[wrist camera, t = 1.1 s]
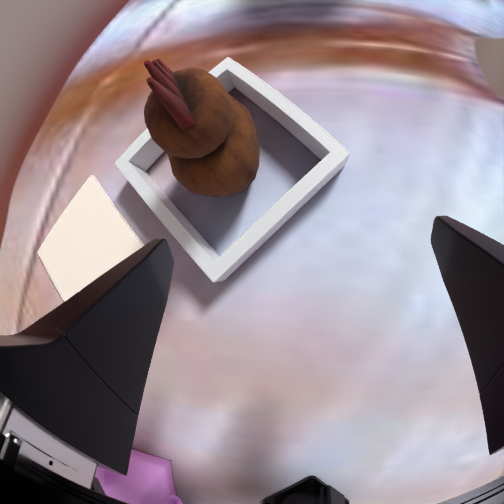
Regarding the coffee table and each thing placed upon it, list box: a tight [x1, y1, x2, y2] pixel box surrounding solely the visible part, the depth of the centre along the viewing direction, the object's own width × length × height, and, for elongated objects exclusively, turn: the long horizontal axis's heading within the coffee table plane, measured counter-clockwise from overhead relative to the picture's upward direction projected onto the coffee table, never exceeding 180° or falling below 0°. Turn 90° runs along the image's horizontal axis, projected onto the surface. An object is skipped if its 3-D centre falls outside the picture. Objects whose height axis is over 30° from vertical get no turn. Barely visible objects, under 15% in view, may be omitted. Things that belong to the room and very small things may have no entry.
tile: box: [38, 175, 145, 302], centre depth 25 cm, size 11×11×1 cm
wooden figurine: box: [144, 59, 259, 197], centre depth 16 cm, size 7×6×15 cm
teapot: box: [95, 449, 183, 504], centre depth 19 cm, size 18×14×10 cm
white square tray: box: [115, 57, 350, 283], centre depth 22 cm, size 13×13×3 cm
